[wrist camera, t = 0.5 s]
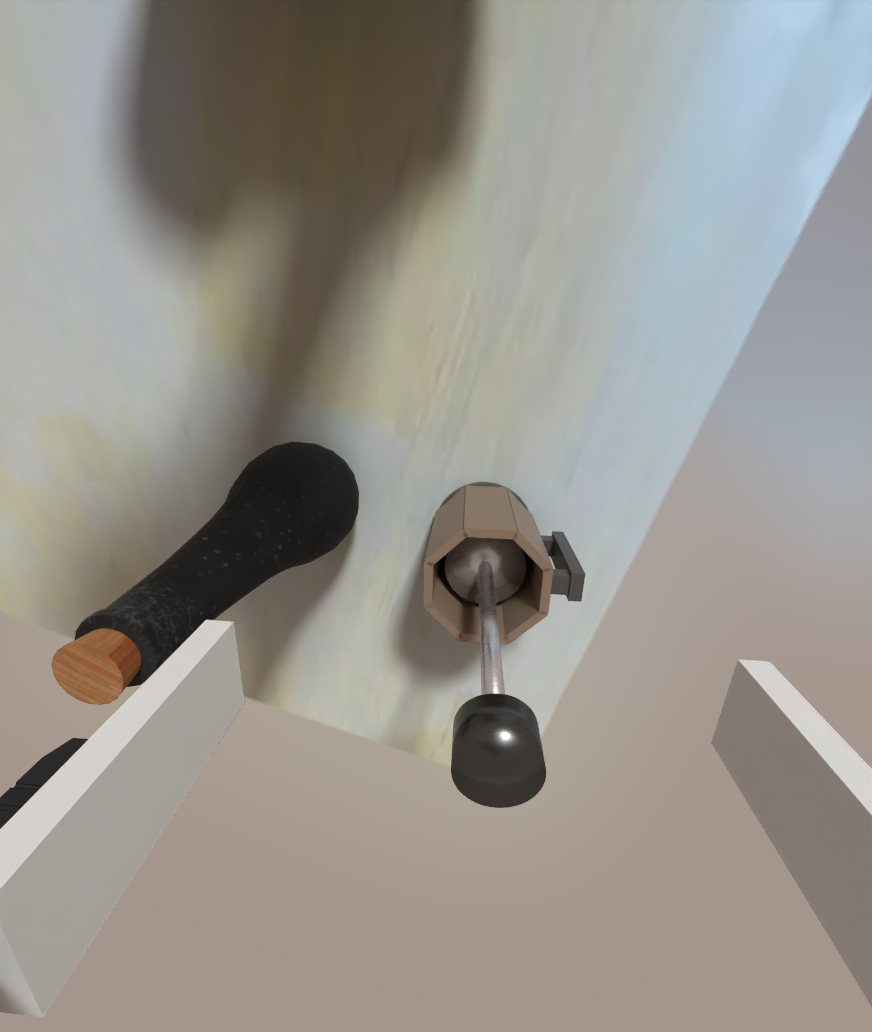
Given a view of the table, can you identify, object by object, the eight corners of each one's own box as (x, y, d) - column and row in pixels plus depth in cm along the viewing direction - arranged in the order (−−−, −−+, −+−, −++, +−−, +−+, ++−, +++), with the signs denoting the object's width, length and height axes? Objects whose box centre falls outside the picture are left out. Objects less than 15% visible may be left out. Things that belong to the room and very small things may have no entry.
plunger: (446, 525, 38) (419, 702, 18) (528, 529, 38) (590, 714, 18) (444, 597, 40) (417, 823, 21) (521, 601, 40) (570, 837, 20)
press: (435, 480, 46) (422, 524, 34) (561, 485, 45) (595, 532, 33) (433, 570, 49) (420, 640, 37) (551, 576, 48) (578, 650, 36)
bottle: (340, 550, 49) (163, 808, 21) (253, 499, 48) (-61, 700, 20) (388, 469, 46) (254, 646, 18) (295, 412, 45) (-9, 504, 16)
